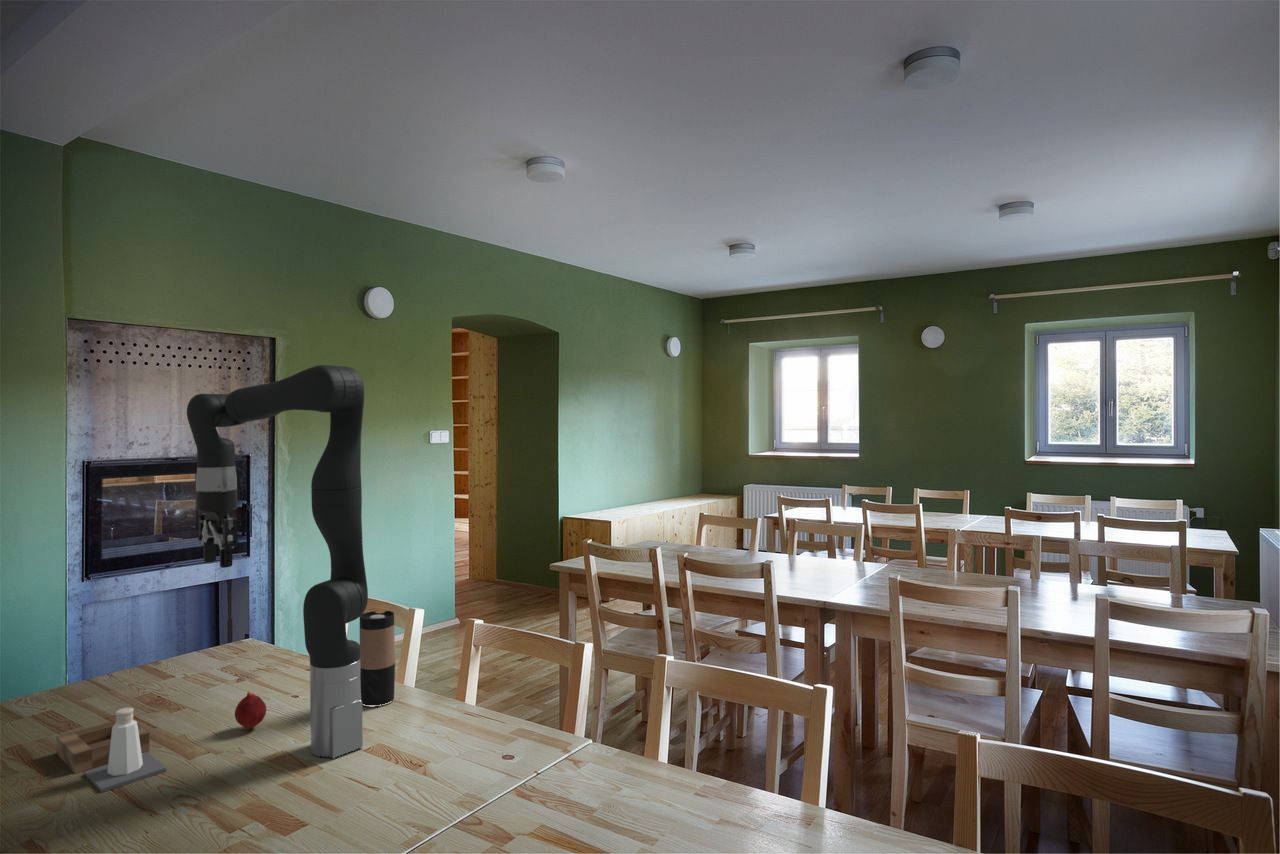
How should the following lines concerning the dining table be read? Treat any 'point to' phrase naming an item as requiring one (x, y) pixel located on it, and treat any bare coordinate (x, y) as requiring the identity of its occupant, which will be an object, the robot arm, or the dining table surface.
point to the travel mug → (377, 657)
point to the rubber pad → (109, 781)
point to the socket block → (91, 746)
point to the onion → (250, 711)
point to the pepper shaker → (124, 745)
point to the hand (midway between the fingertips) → (217, 564)
